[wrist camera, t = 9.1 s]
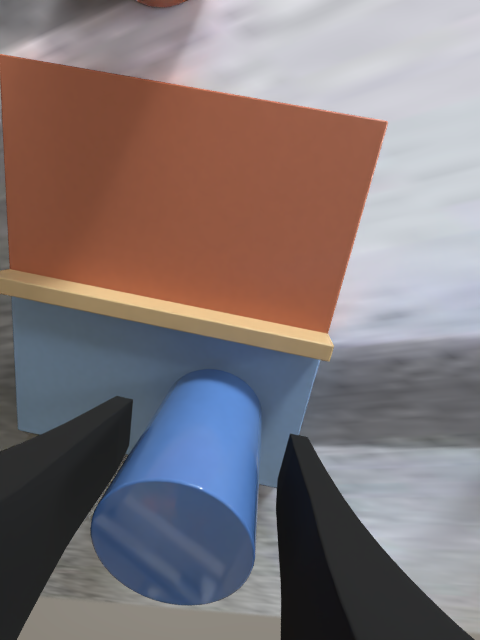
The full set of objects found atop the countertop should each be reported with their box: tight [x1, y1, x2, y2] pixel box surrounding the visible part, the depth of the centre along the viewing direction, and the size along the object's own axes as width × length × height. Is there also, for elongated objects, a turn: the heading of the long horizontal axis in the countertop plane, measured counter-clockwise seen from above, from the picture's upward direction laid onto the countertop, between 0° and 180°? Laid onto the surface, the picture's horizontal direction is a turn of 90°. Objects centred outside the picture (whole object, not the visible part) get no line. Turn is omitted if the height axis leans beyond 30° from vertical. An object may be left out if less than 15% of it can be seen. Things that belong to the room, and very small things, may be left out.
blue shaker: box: [91, 369, 263, 605], centre depth 10 cm, size 4×4×6 cm
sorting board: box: [0, 54, 388, 488], centre depth 11 cm, size 12×14×2 cm
